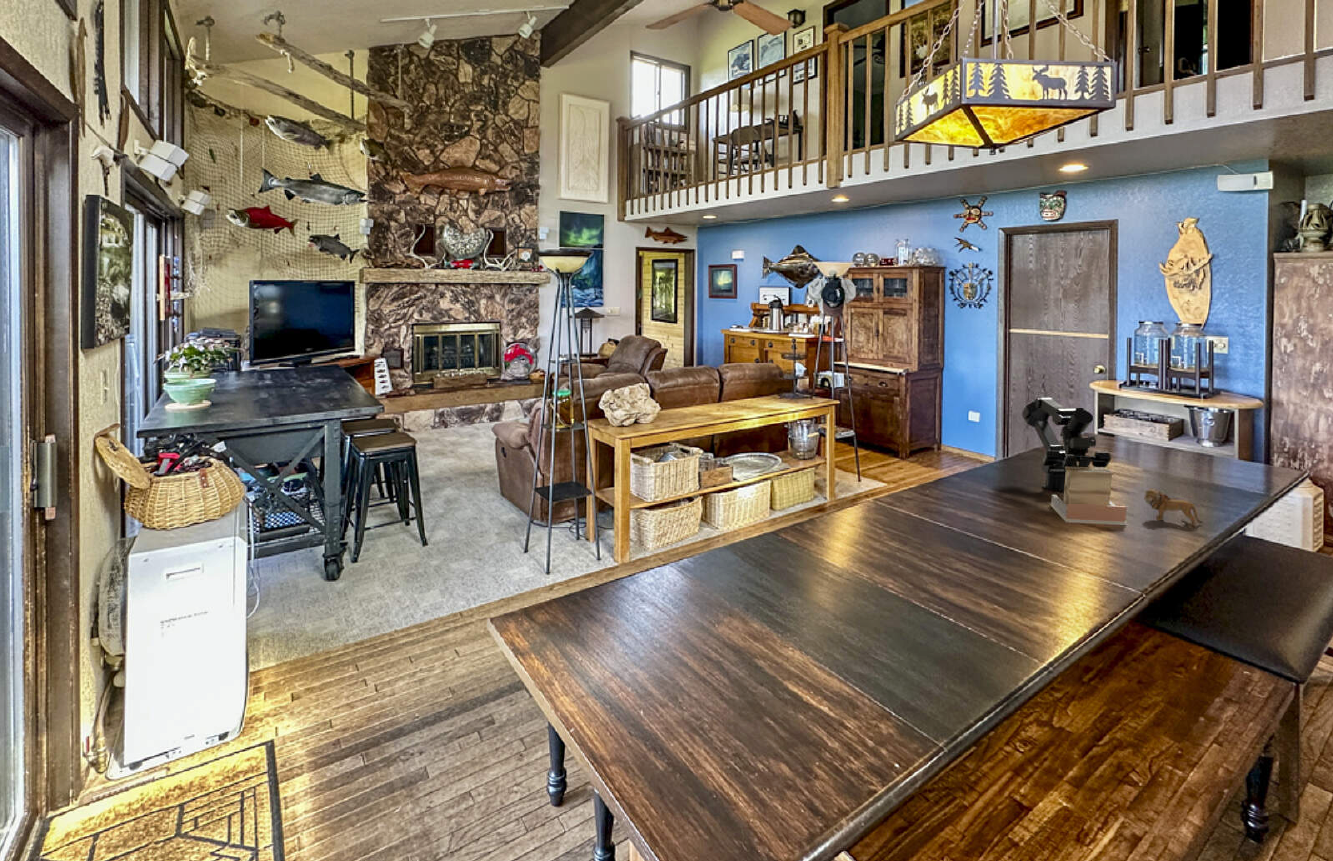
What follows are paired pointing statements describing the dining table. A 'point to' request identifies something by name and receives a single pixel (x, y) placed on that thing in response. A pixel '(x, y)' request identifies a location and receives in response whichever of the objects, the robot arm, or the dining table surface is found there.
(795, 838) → the dining table surface
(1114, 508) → the box
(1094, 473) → the cream flanged block
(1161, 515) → the lion figurine
